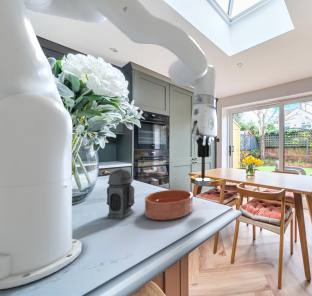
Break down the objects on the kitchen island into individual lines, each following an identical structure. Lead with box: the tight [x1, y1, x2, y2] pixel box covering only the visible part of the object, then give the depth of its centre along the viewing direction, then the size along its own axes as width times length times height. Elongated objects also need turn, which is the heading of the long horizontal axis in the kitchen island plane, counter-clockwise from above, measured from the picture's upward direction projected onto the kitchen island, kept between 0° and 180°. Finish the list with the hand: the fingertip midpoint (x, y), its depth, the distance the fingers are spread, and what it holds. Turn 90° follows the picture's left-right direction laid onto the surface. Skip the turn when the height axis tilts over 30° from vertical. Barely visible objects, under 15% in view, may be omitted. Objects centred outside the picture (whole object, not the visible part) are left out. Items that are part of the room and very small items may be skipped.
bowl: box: [144, 189, 194, 221], centre depth 57 cm, size 15×15×6 cm
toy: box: [106, 168, 135, 220], centre depth 54 cm, size 8×6×15 cm
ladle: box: [194, 142, 212, 187], centre depth 58 cm, size 5×5×15 cm
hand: (203, 156), depth 58 cm, fingers closed on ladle, 1 cm apart
